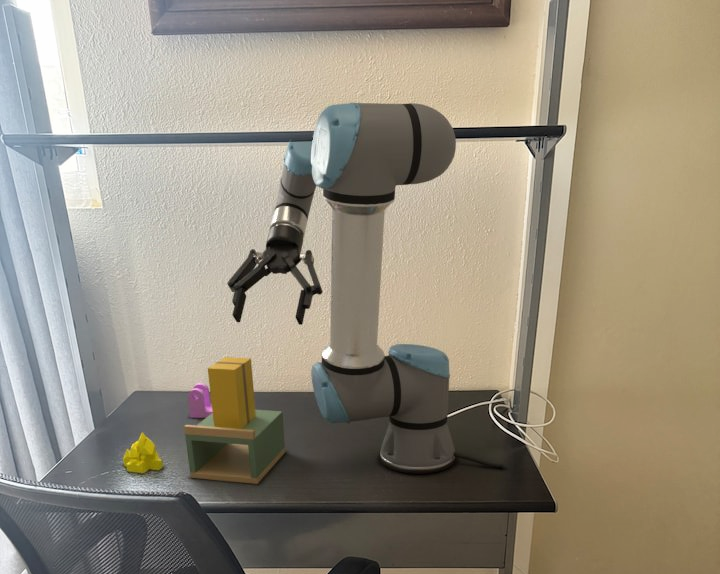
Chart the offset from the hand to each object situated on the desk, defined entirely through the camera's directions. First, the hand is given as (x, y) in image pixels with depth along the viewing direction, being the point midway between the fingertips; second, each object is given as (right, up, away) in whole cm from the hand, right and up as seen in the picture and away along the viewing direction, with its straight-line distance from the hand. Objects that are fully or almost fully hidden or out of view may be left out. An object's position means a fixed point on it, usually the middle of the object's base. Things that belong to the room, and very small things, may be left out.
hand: (267, 320), depth 143 cm
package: (-6, -21, -4) cm, 22 cm away
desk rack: (-6, -30, 0) cm, 30 cm away
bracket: (-15, -17, +28) cm, 36 cm away
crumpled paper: (-25, -30, 0) cm, 39 cm away
